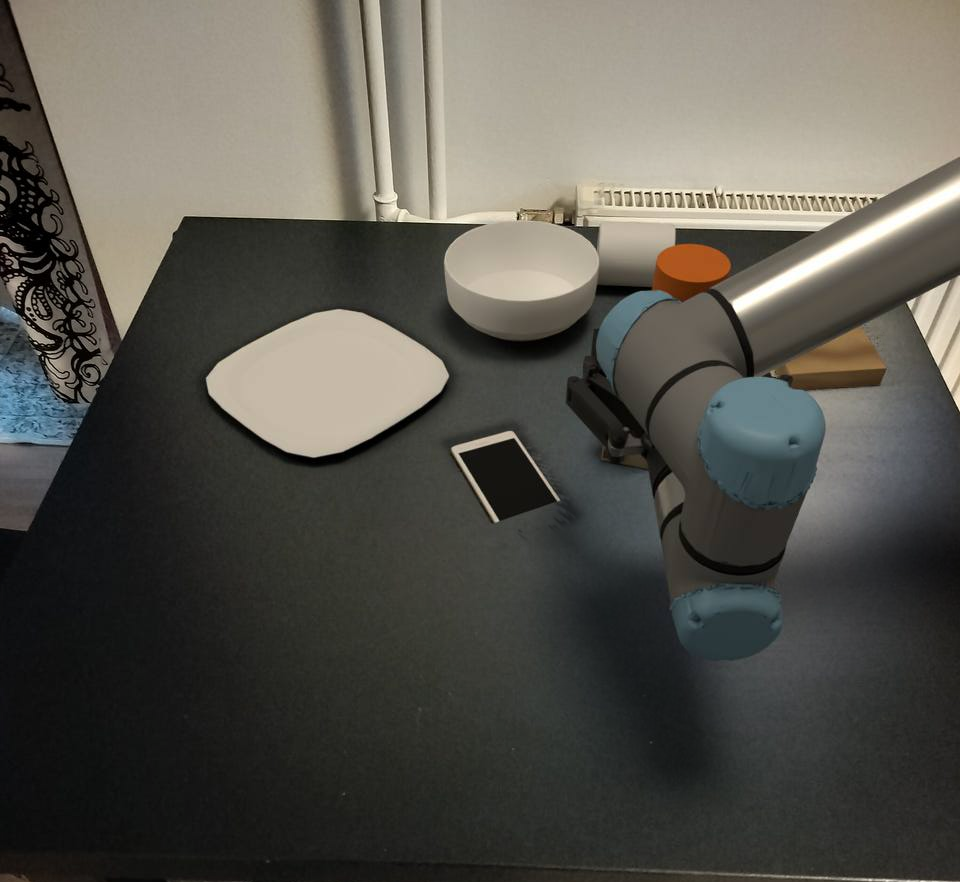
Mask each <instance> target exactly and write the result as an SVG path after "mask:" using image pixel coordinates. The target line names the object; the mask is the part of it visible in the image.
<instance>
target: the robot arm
mask: <svg viewBox="0 0 960 882" xmlns="http://www.w3.org/2000/svg"><path fill="white" fill-rule="evenodd" d="M959 276H960V156H958V157H956V158H954V159H953V160H951V161H949V162H946V163H945V164H943V165H941V166H939V167H937V168H935V169H933V170H932V171H931V170H930V171H929V172H928V173H925V174H924V175H922V176H920V177H918V178H917V179H914V180H913V181H911V182H909V183H907V184H905V185H903V186H901V187H899V188H897V189H895V190H894V191H892V192H889V193H888V194H886V195H884V196H882V197H880V198H878V199H876V200H875V201H873V202H871V203H869V204H866V205H865V206H863V207H861V208H859V209H857V210H855V211H853V212H851V213H849V214H848V215H845V216H844V217H842V218H840V219H838V220H836V221H834V222H832V223H831V224H829V225H826V226H825V227H822V228H821V229H819V230H817V231H816V232H813V233H812V234H810V235H808V236H806V237H804V238H803V239H800V240H798V241H797V242H795V243H792V244H791V245H789V246H787V247H785V248H783V249H781V250H779V251H777V252H775V253H774V254H772V255H770V256H768V257H766V258H764V259H762V260H760V261H758V262H756V263H755V264H752V265H751V266H748V267H747V268H744V269H743V270H742V271H739V272H737V273H736V274H734V275H732V276H729V277H728V279H726V280H724V281H722V282H720V283H718V284H716V285H715V286H713V287H711V288H709V289H708V290H706V291H705V292H703V293H699V294H697V295H696V296H694V297H692V298H690V299H688V300H686V301H684V302H683V303H682V302H681V301H679V300H678V299H676V298H675V297H672V296H671V295H670V294H668V293H666V292H664V291H660V290H652V289H651V290H640V291H636V292H633V293H631V294H630V295H628V296H626V297H624V298H623V299H622V300H620V301H619V302H618V303H616V305H615V306H614V307H612V309H611V310H609V312H608V314H606V316H605V318H604V319H603V321H602V323H601V325H600V327H599V328H593V331H592V343H591V353H590V355H585V356H584V357H583V363H582V378H580V377H579V376H576V375H572V376H569V377H567V381H566V391H565V392H566V393H565V404H566V405H567V407H568V408H569V409H570V410H571V411H572V412H573V413H574V415H575V416H576V417H577V418H578V419H579V420H580V421H581V422H582V423H583V424H584V425H585V426H586V428H587V429H588V430H589V431H590V433H592V434H593V435H594V437H595V438H596V439H597V440H598V441H599V442H600V443H601V444H602V446H603V445H604V446H605V448H606V451H607V455H608V458H609V461H610V463H611V464H614V465H618V464H619V465H620V463H621V462H622V461H623V456H624V455H636V454H641V456H642V457H643V458H644V459H645V460H646V461H647V464H648V469H647V470H648V475H649V481H650V487H651V493H652V499H653V503H654V510H655V516H656V517H655V518H656V523H657V528H658V532H659V533H658V534H659V539H660V544H661V550H662V555H663V556H662V557H663V562H664V570H665V575H666V583H667V588H668V594H669V600H670V605H669V613H670V614H671V616H672V619H673V623H674V626H675V630H676V633H677V636H678V640H679V642H680V644H681V645H682V646H683V648H684V649H685V650H686V651H688V652H689V653H690V654H692V655H693V656H695V657H697V658H701V659H703V660H707V661H712V662H718V661H728V662H733V661H737V660H743V659H745V658H750V657H752V656H754V655H756V654H759V653H760V652H763V651H764V650H765V649H767V648H768V647H769V646H770V645H772V644H773V643H774V642H775V641H776V640H777V638H778V637H779V635H780V633H781V631H782V629H783V628H782V627H783V623H784V620H783V619H784V617H783V612H782V607H781V606H782V605H781V604H782V596H781V593H779V591H778V590H777V586H776V585H777V583H776V581H777V580H776V579H777V574H778V573H779V570H780V568H781V567H780V566H781V565H782V562H783V559H784V556H785V553H786V548H787V545H788V541H789V538H790V537H791V534H792V531H793V529H794V526H795V523H796V521H797V518H798V516H799V514H800V511H801V509H802V506H803V503H804V501H805V499H806V496H807V494H808V491H809V490H810V489H811V486H812V485H813V483H814V479H815V477H816V476H817V471H818V467H817V464H818V462H819V456H820V453H821V451H822V446H823V443H824V439H825V436H826V430H827V429H826V428H827V427H826V426H827V425H826V419H825V415H824V412H823V410H822V408H821V406H820V404H819V403H818V402H817V400H816V399H815V398H814V397H813V396H812V395H811V394H809V393H808V392H807V390H796V389H792V388H791V385H792V382H793V378H792V376H790V375H787V374H783V375H781V376H780V377H779V378H778V376H777V377H776V376H774V377H773V376H772V375H771V373H770V372H771V371H773V370H775V369H777V368H779V367H781V366H783V365H785V364H787V363H789V362H791V361H793V360H795V359H797V358H798V357H800V356H802V355H804V354H806V353H808V352H810V351H812V350H814V349H816V348H818V347H820V346H822V345H824V344H826V343H828V342H830V341H832V340H834V339H836V338H838V337H840V336H842V335H844V334H846V333H848V332H849V331H851V330H853V329H855V328H857V327H859V326H861V327H862V326H863V325H866V324H867V323H869V322H871V321H873V320H875V319H878V318H879V317H880V316H883V315H885V314H887V313H890V312H891V311H893V310H895V309H897V308H898V307H900V306H902V305H905V304H906V303H908V302H911V301H913V300H914V299H916V298H918V297H920V296H922V295H924V294H927V293H928V292H930V291H932V290H934V289H936V288H938V287H940V286H941V285H944V284H946V283H948V282H950V281H951V280H953V279H956V278H958V277H959ZM622 424H623V425H624V426H626V427H624V428H623V426H622ZM629 429H630V430H632V431H633V432H634V433H635V435H636V438H635V437H633V436H632V435H631V434H630V433H629ZM609 461H608V462H609Z"/></svg>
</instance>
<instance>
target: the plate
mask: <svg viewBox="0 0 960 882" xmlns="http://www.w3.org/2000/svg"><path fill="white" fill-rule="evenodd" d="M449 378H450V374H449V372H448V370H447V368H446V366H445V364H444V362H443V360H442V358H439V357H438V356H437V355H436V354H435V353H433V352H432V351H431V350H430V349H428V348H426V346H424V345H422V344H421V343H419V342H418V341H416V340H414V339H413V338H411V337H409V336H408V335H406V334H404V333H403V332H401V331H399V330H398V329H396V328H394V327H392V326H390V325H389V324H387V323H385V322H384V321H381V320H379V319H376V318H374V317H372V316H370V315H368V314H367V313H364V312H360V311H359V312H358V311H353V310H348V309H341V308H336V309H331V310H326V311H319V312H314V313H311V314H308V315H306V316H304V317H302V318H299V319H297V320H295V321H291V322H289V323H287V324H286V325H283V326H280V327H279V328H277V329H275V330H273V331H272V332H269V333H267V334H265V335H264V336H262V337H259V338H257V339H256V340H254V341H252V342H250V343H248V344H246V345H244V346H242V347H241V348H239V349H237V350H236V351H235V352H232V353H231V354H229V355H228V356H226V357H225V358H223V359H222V360H220V361H218V362H217V363H216V365H215V366H214V367H213V369H212V370H211V371H210V372H209V373H208V375H207V376H206V377H205V381H206V386H207V391H208V395H209V396H210V398H211V399H213V401H214V402H215V403H216V404H217V405H218V406H219V407H220V408H221V409H222V410H223V411H224V412H225V413H227V414H228V415H229V416H230V417H232V418H233V419H235V421H237V422H238V423H239V424H241V425H242V426H243V427H245V428H246V429H247V430H248V431H250V432H252V433H253V434H254V435H256V436H257V437H258V438H260V439H261V440H263V441H264V442H266V443H268V444H269V445H271V446H273V447H275V448H277V449H278V450H280V451H282V452H284V453H285V454H288V455H294V456H298V457H304V458H309V459H314V460H315V459H319V458H323V457H324V458H325V457H330V456H335V455H340V454H343V453H346V452H348V451H350V450H352V449H354V448H356V447H358V446H360V445H363V444H364V443H367V442H368V441H370V440H372V439H374V438H375V437H378V436H379V435H380V434H382V433H384V432H385V431H388V430H389V429H391V428H392V427H394V426H396V425H397V424H399V423H401V422H402V421H403V420H406V419H407V418H408V417H410V416H412V415H413V414H415V413H416V412H418V411H419V410H421V409H423V408H424V407H425V406H426V405H427V404H429V403H430V402H431V401H433V400H435V398H437V397H438V396H439V395H440V394H441V393H442V392H443V389H444V388H445V386H446V384H447V382H448V380H449Z"/></svg>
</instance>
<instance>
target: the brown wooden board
mask: <svg viewBox="0 0 960 882" xmlns="http://www.w3.org/2000/svg"><path fill="white" fill-rule="evenodd" d="M887 369H888V366H886V364H885V362H884V360H883V359H882V358H881V356H880V354H879V353H878V351H877V350H876V348H875V346H874V345H873V343H872V341H871V340H870V338H869V337H868V335H867V334H866V332H865V331H864V329H863V327H862V325H861V326H859V327H857V328H855V329H853V330H851V331H849V332H848V333H846V334H844V335H842V336H840V337H838V338H836V339H834V340H832V341H830V342H828V343H826V344H824V345H822V346H820V347H818V348H816V349H814V350H812V351H810V352H808V353H806V354H804V355H802V356H800V357H798V358H797V359H795V360H793V361H791V362H789V363H787V364H785V365H783V366H781V367H779V368H777V369H775V371H774V373H775V374H776V376H777V378H779V377H780V376H781V375H783V374H787V375H790V376H792V378H793V382H792V385H791V388H792V389H796V390H804V391H809V390H810V391H811V390H825V389H840V388H853V387H854V388H855V387H869V386H870V387H871V386H880V385H881V384H882V381H883V379H884V376H885V374H886V372H887Z"/></svg>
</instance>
